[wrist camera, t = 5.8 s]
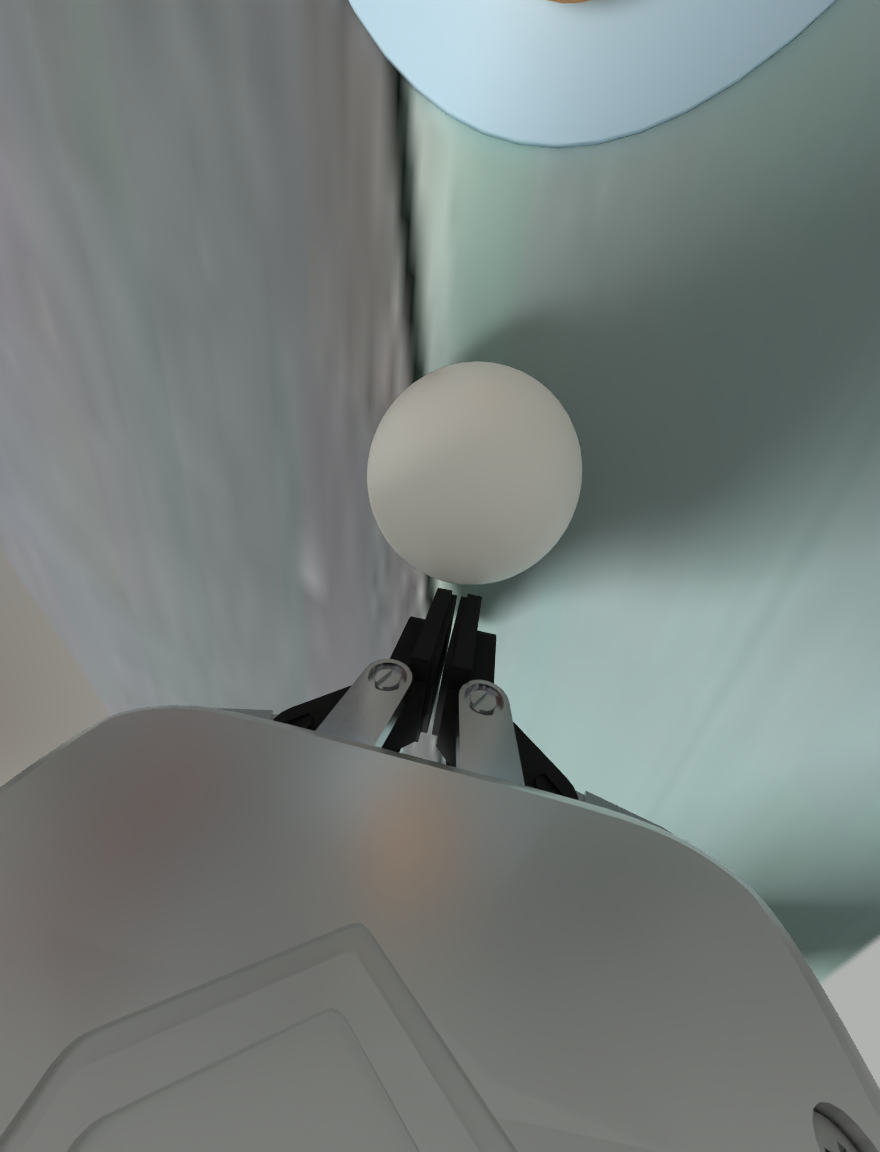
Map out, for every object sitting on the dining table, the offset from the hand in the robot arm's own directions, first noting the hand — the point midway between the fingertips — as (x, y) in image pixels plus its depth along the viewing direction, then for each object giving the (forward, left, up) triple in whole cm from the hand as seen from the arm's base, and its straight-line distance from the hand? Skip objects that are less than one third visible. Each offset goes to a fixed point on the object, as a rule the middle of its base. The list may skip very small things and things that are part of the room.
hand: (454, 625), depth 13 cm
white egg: (+4, -3, +1) cm, 6 cm away
